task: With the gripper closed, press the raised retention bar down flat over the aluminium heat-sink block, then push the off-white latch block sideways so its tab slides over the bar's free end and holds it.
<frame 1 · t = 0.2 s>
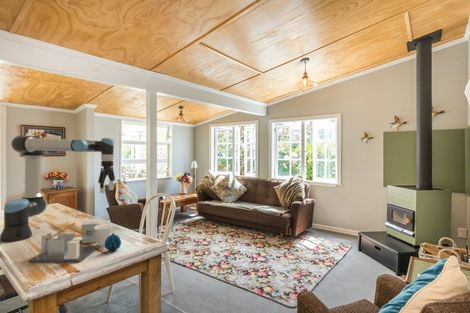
hand: (106, 191, 176), 28 cm above the table, fingers open, 13 cm apart
base: (65, 255, 136), on the table
strap: (61, 231, 136), point 13 cm above the table, hinge at 32.0°
ink box: (90, 241, 158), on the table
ornament: (112, 251, 144), on the table
latch: (75, 247, 131), point 6 cm above the table, slide at 0.0 cm
cup: (103, 245, 152), on the table
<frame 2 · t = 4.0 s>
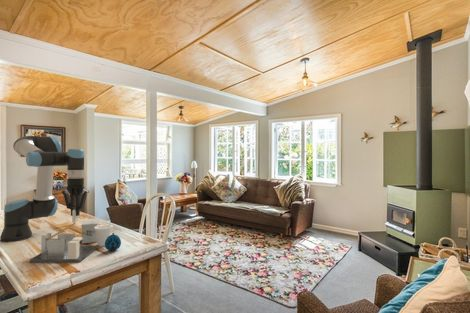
hand: (75, 221, 136), 18 cm above the table, fingers closed
strap: (61, 231, 136), point 13 cm above the table, hinge at 32.0°, touching gripper
everything else where it was.
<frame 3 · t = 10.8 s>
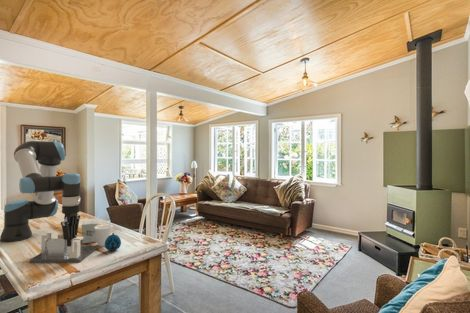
hand: (70, 251, 127), 6 cm above the table, fingers closed
strap: (64, 239, 136), point 8 cm above the table, hinge at 1.5°
latch: (76, 247, 132), point 6 cm above the table, slide at 0.9 cm, touching gripper
everything else where it was.
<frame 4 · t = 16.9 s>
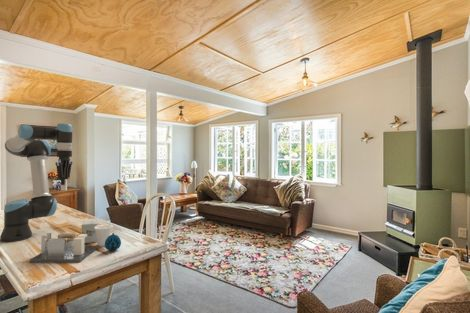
hand: (63, 190, 150), 32 cm above the table, fingers closed
strap: (64, 239, 136), point 8 cm above the table, hinge at 1.5°, touching latch
latch: (80, 244, 136), point 6 cm above the table, slide at 5.0 cm, touching strap
everything else where it was.
at the end: strap at +2° (first picture: +32°); latch slide at 5.0 cm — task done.
